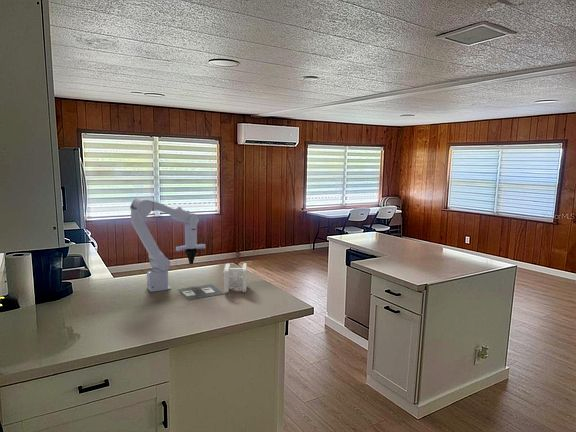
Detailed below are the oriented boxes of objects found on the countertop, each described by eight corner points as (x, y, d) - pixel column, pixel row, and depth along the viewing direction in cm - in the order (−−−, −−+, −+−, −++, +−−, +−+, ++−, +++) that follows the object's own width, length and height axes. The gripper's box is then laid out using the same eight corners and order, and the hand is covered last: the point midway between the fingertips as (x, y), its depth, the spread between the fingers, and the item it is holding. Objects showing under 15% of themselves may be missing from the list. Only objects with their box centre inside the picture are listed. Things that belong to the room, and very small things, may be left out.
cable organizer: (246, 295, 180) (246, 270, 179) (222, 295, 179) (223, 270, 178) (246, 285, 195) (247, 262, 194) (224, 285, 194) (225, 262, 193)
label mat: (188, 300, 173) (188, 299, 173) (177, 289, 186) (177, 289, 186) (224, 294, 181) (224, 293, 181) (211, 284, 195) (211, 284, 195)
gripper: (178, 239, 188) (179, 267, 190) (207, 237, 196) (207, 263, 198) (174, 237, 194) (174, 263, 196) (202, 234, 202) (203, 260, 204)
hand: (191, 263), depth 197 cm, fingers closed
